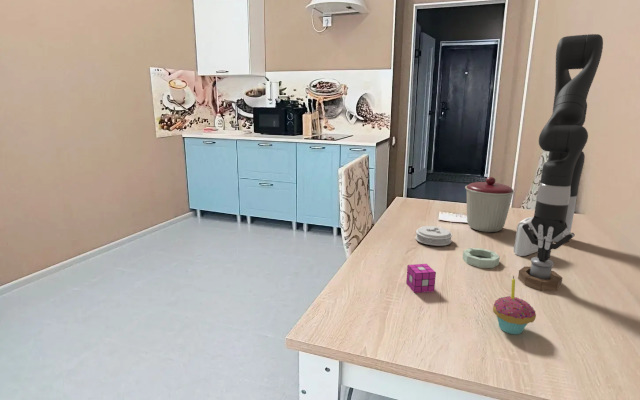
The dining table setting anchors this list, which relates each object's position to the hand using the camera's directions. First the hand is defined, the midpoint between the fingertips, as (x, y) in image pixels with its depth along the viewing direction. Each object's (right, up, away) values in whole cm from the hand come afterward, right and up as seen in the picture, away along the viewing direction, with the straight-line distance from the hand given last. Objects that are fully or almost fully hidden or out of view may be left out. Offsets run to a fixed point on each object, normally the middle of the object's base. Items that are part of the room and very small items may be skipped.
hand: (542, 260), depth 108 cm
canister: (+4, +5, +48) cm, 49 cm away
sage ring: (-11, -3, +16) cm, 19 cm away
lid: (-21, +1, +33) cm, 39 cm away
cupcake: (-19, -12, -21) cm, 31 cm away
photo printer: (+8, -1, +23) cm, 25 cm away
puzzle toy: (-35, -7, -2) cm, 36 cm away
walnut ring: (0, -6, +2) cm, 7 cm away
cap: (0, -6, +2) cm, 6 cm away
